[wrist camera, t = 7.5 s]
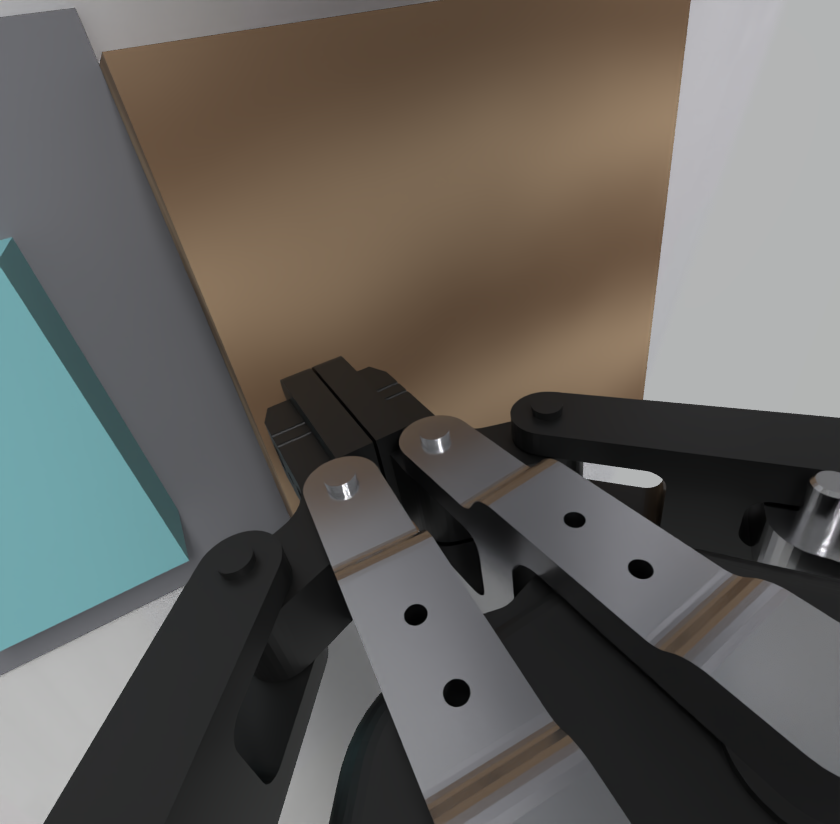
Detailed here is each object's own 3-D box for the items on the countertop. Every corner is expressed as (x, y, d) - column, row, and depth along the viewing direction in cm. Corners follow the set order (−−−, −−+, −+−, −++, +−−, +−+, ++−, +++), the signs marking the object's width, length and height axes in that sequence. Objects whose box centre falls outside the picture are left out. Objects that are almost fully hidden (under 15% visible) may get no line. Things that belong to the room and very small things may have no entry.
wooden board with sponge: (99, 66, 12) (102, 52, 8) (581, -12, 16) (695, -39, 13) (285, 508, 19) (321, 581, 16) (572, 373, 24) (641, 412, 21)
